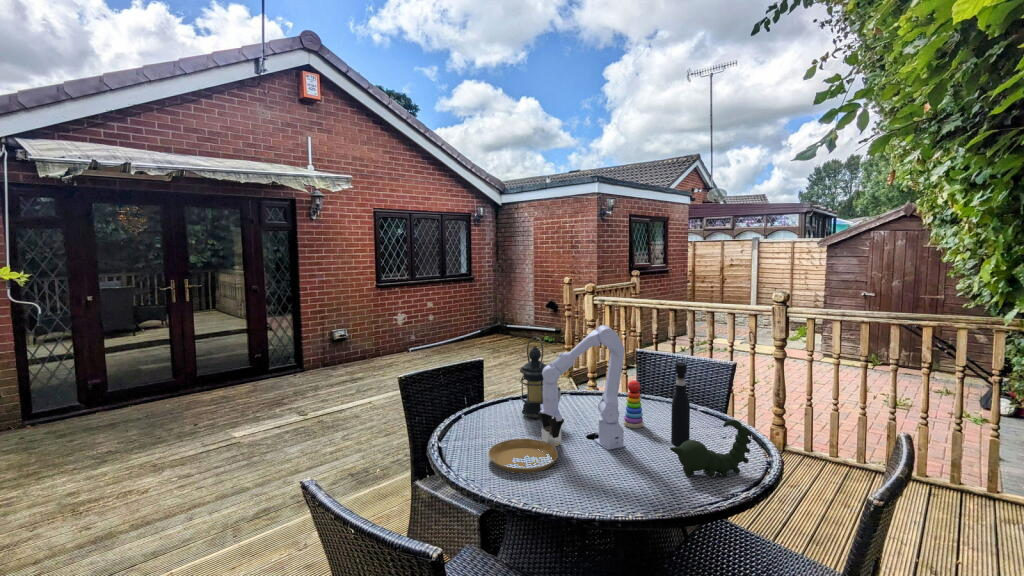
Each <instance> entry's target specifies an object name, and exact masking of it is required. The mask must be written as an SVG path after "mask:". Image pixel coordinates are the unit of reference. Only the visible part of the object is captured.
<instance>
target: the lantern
mask: <svg viewBox="0 0 1024 576" xmlns="http://www.w3.org/2000/svg"><path fill="white" fill-rule="evenodd" d="M534 339H538V340H539V343H540V346H541V351H540V349H539V348H538V347H537V346H536V345H535V346H533V347H532V348H531V349H530V350H529V348H530V347H529V346H530V343H531V341H532V340H534ZM543 345H544V344H543V342H542V339H541V338H540V337H538V336H533V337H531V338H530V339H528V342H527V346H526V356H527V363H525V364H524V365H523V366H521V367H520V369H519V373H521V374H522V376H521V379H520V381H519V382H520V383H521V396H520V400H521V401H522V402H524V403H523V405H522V406H523V407H522V411H521V413H522V415H524V416H526V417H527V418H533V419H539V418H540V416H539V414H538V412H539V411H540V410H541V409H540V404H543V399H542V388H543V376H542V371H543V369H544V367H546V366H548V365H547V364H545V363H544V362H543V359H544V346H543ZM524 381H526V382H527V383H525V382H524ZM524 385H525V386H526V388H527V391H526V393H525V394H524V391H523V390H524ZM524 397H527V398H526V399H524ZM540 419H541V418H540Z"/></svg>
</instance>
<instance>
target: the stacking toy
mask: <svg viewBox="0 0 1024 576" xmlns="http://www.w3.org/2000/svg"><path fill="white" fill-rule="evenodd" d="M627 389H628V393H627V398H626V403H625V404H626V406H625V412H624V414H625V415H624V418H623V420H624V421H623V425H624V426H625V427H627V428H628V429H629V428H630V429H641V428H643V427H644V425H645V423H644V421H643V420H644V417H643V415H644V413H643V412H642V411H643V408H642V402H641V398H640V397H641V393H640V390H641V384H640V382H639V381H637V380H631V381H628V383H627Z"/></svg>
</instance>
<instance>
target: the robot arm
mask: <svg viewBox="0 0 1024 576" xmlns="http://www.w3.org/2000/svg"><path fill="white" fill-rule="evenodd" d="M601 344H602V345H603V346H605V347H607V349H608V350H609V352H610V353H609V360H608V366H607V372H606V378H605V386H604V391H603V393H602V395H601V400H600V401H599V403H598V406H597V409H598V411H599V413H600V415H599V417H598V438H594V439H593V440H594V442H595V443H597V444H599V445H600V446H601V447H603V448H604V449H606V450H608V451H609V450H613V449H619V448H623V447H626V444H625V443H624V440H625V439H624V438H625V435H624V432H625V431H624V428H623V426H621V424H620V422H619V419H620V411H619V399H618V396H619V389H620V384H621V378H622V371H623V365H624V359H625V353H626V351H625V347H624V345H623V342H622V340H621V338H620V335H619V334H618V333H616V331H615V330H614V329H612V328H611V327H610V326H609V325H607V324H602V325H599V326H598V327H596V329H593V330H592V331H591V332H590V333H588V334H587V335H586V337H584V338H583V339H582V340H581V341H580V342H579V343H578V344H577V345H576V346H574V347H573V348H572V350H570V351H569V352H565V351H564V352H563V353H561V352H560V353H559V354H558V357H557V358H556V359H555V360H553V361H552V362H551V361H550V362H549V363H548V365H547V366H546V367H544V369H543V371H542V376H543V404H540V409H541V410H540V411H539V412H538V414H539V416H540V420H541V425H542V427H546V426H551V431H552V437H553V438H557V437H558V436H559V432H560V430H561V428H562V426H563V424H564V423H565V419H564V418H563V415H562V414H561V412H560V409H559V403H558V387H559V385H558V381H559V380H560V376H562V375H564V373H566V372H568V370H569V369H570V368H572V367H573V366H574V365H575V362H576V359H577V358H578V357H580V356H581V355H582V354H584V353H586V352H587V350H590V348H592V347H601ZM551 417H553V419H551Z"/></svg>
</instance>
